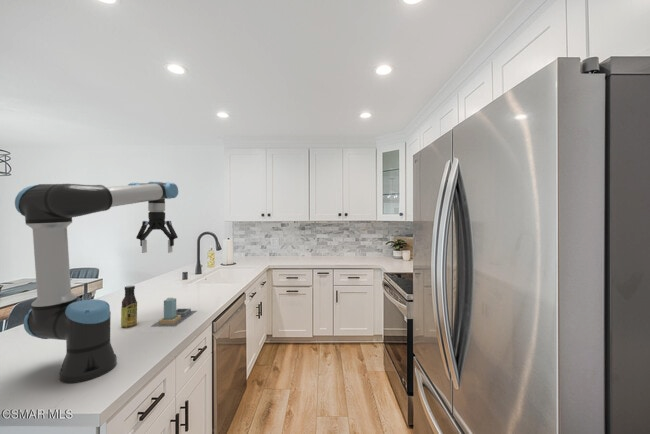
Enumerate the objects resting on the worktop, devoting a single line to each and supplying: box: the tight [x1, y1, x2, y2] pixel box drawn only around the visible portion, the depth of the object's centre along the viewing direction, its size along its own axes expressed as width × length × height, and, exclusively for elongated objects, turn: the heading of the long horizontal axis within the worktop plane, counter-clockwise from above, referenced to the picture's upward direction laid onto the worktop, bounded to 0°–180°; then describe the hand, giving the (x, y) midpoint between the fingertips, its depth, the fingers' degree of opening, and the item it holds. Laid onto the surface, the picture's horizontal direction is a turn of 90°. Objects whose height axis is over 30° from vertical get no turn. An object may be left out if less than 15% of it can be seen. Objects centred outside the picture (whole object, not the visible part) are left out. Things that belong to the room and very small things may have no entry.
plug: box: [163, 297, 177, 320], centre depth 138 cm, size 4×4×12 cm
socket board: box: [150, 308, 198, 328], centre depth 143 cm, size 22×12×3 cm, turn 179°
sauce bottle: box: [120, 285, 138, 329], centre depth 134 cm, size 6×6×20 cm
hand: (157, 252), depth 145 cm, fingers open, 13 cm apart
